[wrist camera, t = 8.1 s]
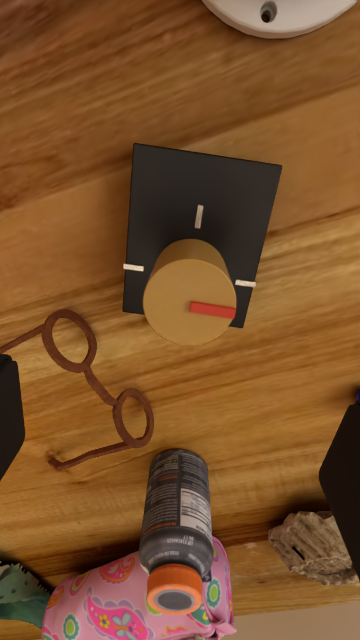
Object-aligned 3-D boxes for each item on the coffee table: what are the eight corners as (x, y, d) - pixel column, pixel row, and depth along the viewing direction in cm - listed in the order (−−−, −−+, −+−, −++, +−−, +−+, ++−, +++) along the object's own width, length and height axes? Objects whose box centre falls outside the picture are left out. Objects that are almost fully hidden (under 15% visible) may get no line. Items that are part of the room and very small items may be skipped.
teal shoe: (38, 626, 47) (21, 675, 42) (-67, 548, 41) (-100, 595, 36) (87, 607, 45) (76, 657, 40) (-14, 522, 39) (-43, 569, 34)
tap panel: (136, 144, 21) (131, 142, 19) (276, 166, 21) (285, 165, 19) (125, 314, 26) (119, 326, 24) (237, 330, 26) (241, 342, 24)
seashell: (258, 490, 38) (287, 572, 37) (254, 531, 31) (289, 632, 31) (358, 472, 35) (391, 562, 34) (378, 514, 28) (420, 627, 27)
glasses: (159, 412, 30) (153, 455, 25) (52, 460, 33) (30, 507, 28) (70, 297, 25) (43, 324, 21) (-44, 366, 28) (-89, 403, 24)
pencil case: (205, 510, 35) (209, 612, 27) (240, 555, 38) (253, 658, 30) (54, 560, 40) (19, 659, 32) (96, 596, 43) (74, 694, 35)
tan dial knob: (149, 302, 23) (137, 341, 18) (158, 232, 21) (147, 252, 16) (218, 313, 23) (225, 354, 18) (233, 245, 21) (247, 269, 16)
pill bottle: (153, 489, 34) (137, 625, 24) (146, 448, 32) (124, 580, 21) (209, 487, 34) (217, 625, 23) (206, 445, 31) (213, 578, 21)
